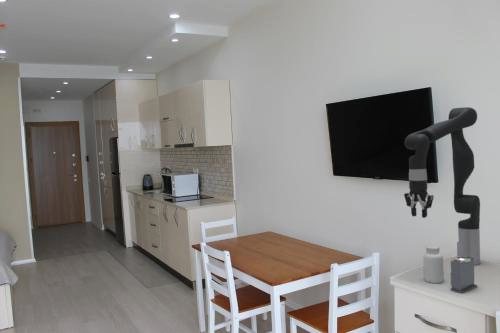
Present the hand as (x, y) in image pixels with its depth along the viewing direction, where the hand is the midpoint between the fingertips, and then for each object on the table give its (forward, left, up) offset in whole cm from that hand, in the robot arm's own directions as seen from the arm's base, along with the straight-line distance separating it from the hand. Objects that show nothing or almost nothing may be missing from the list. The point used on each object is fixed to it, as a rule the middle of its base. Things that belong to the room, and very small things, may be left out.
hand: (419, 216), depth 193 cm
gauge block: (+20, +4, -27) cm, 34 cm away
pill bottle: (+7, +1, -28) cm, 28 cm away
